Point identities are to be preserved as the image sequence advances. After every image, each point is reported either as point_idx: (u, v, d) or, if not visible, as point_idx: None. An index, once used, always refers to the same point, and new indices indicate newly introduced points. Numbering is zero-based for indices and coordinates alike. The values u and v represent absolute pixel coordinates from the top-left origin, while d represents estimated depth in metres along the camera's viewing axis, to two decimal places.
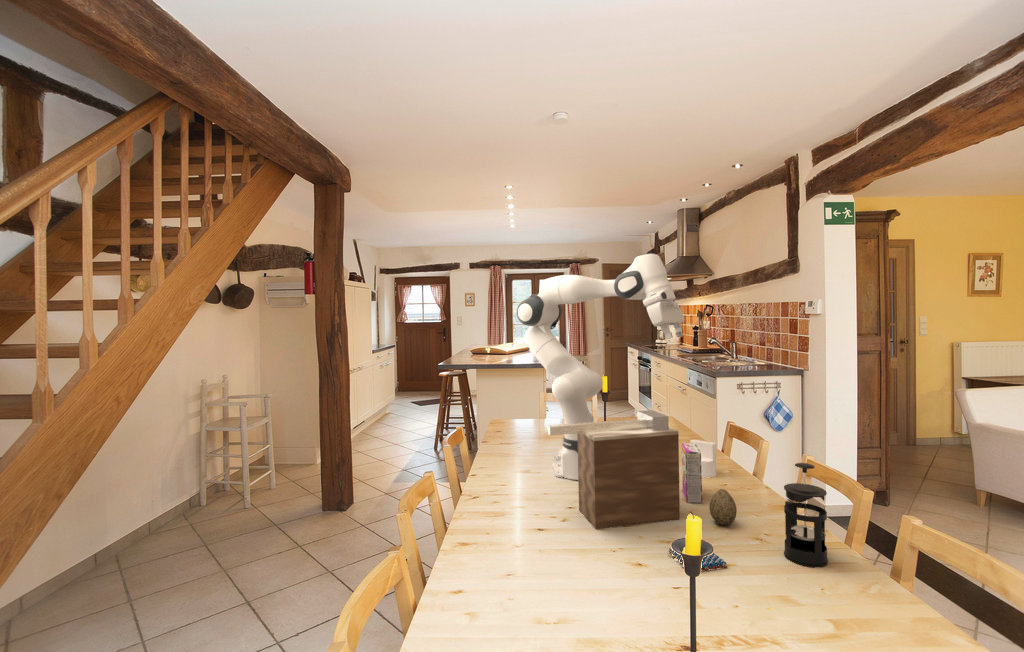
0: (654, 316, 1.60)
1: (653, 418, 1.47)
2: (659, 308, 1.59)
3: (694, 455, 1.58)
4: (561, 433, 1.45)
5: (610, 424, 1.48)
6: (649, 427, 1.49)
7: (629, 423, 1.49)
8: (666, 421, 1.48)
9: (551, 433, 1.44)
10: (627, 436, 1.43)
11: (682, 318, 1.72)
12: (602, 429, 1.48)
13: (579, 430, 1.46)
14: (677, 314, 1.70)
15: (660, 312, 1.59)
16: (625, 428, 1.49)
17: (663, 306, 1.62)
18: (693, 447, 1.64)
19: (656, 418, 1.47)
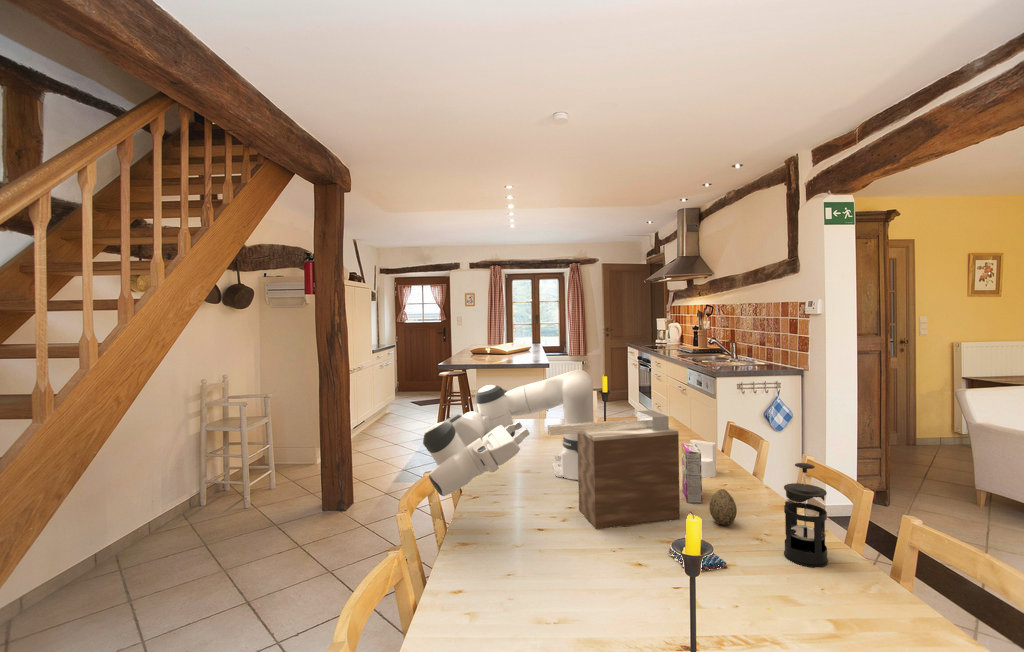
0: (508, 453, 1.33)
1: (653, 418, 1.47)
2: (498, 449, 1.33)
3: (694, 455, 1.58)
4: (561, 433, 1.45)
5: (610, 424, 1.48)
6: (649, 427, 1.49)
7: (629, 423, 1.49)
8: (666, 421, 1.48)
9: (551, 433, 1.44)
10: (627, 436, 1.43)
11: (498, 427, 1.50)
12: (602, 429, 1.48)
13: (579, 430, 1.46)
14: (496, 432, 1.47)
15: (502, 446, 1.33)
16: (625, 428, 1.49)
17: (493, 446, 1.37)
18: (693, 447, 1.64)
19: (656, 418, 1.47)
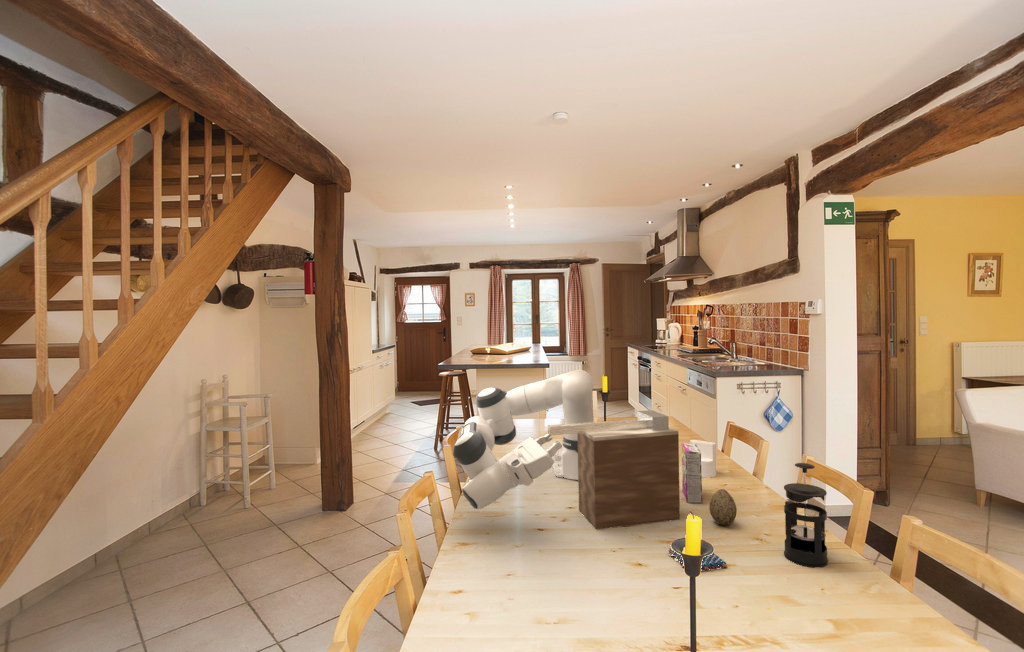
0: (543, 466, 1.34)
1: (653, 418, 1.47)
2: (533, 462, 1.34)
3: (694, 455, 1.58)
4: (561, 433, 1.45)
5: (610, 424, 1.48)
6: (649, 427, 1.49)
7: (629, 423, 1.49)
8: (666, 421, 1.48)
9: (551, 433, 1.44)
10: (627, 436, 1.43)
11: (528, 439, 1.52)
12: (602, 429, 1.48)
13: (579, 430, 1.46)
14: (526, 445, 1.49)
15: (537, 460, 1.34)
16: (625, 428, 1.49)
17: (527, 460, 1.38)
18: (693, 447, 1.64)
19: (656, 418, 1.47)
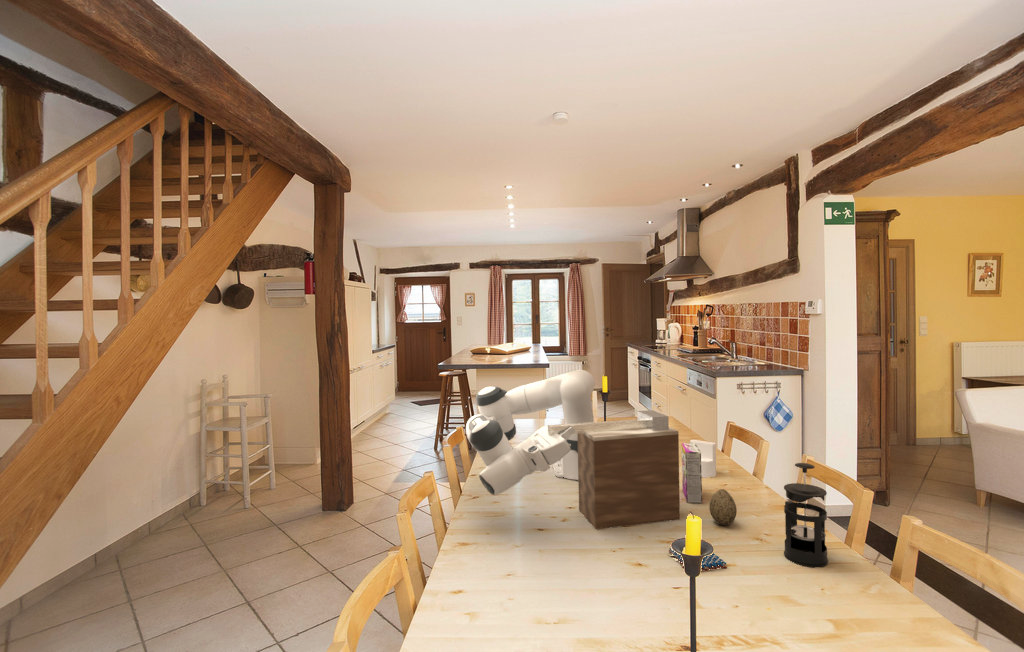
0: (560, 452, 1.36)
1: (653, 418, 1.47)
2: (550, 448, 1.36)
3: (694, 455, 1.58)
4: None
5: (610, 424, 1.48)
6: (649, 427, 1.49)
7: (629, 423, 1.49)
8: (666, 421, 1.48)
9: (551, 433, 1.44)
10: (627, 436, 1.43)
11: (544, 427, 1.53)
12: (602, 429, 1.48)
13: (579, 430, 1.46)
14: (542, 432, 1.50)
15: (554, 446, 1.36)
16: (625, 428, 1.49)
17: (544, 446, 1.40)
18: (693, 447, 1.64)
19: (656, 418, 1.47)
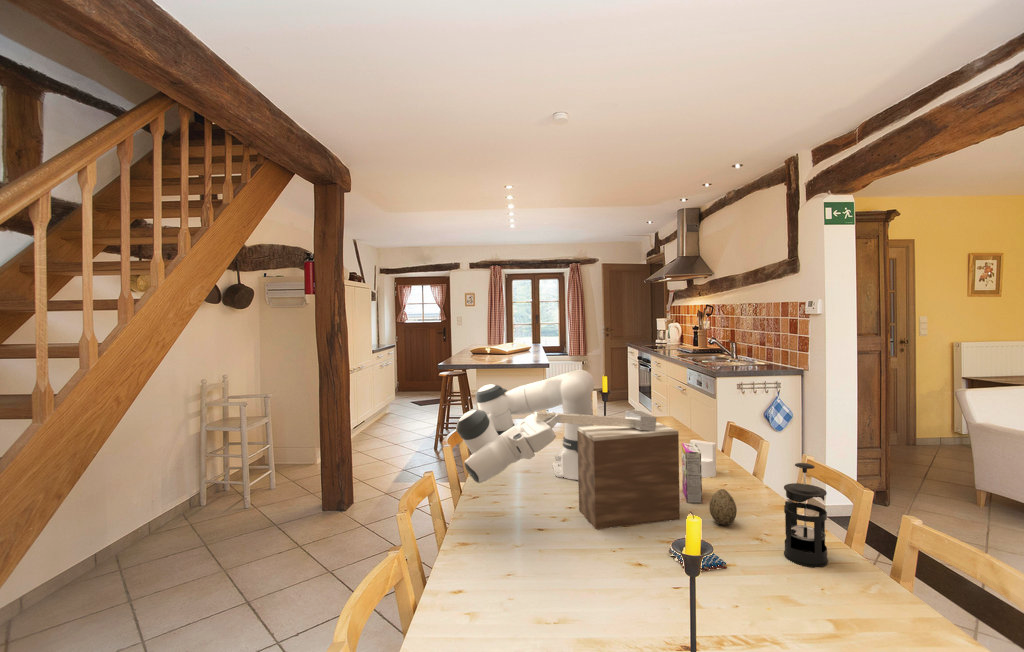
0: (545, 440, 1.35)
1: (641, 417, 1.46)
2: (535, 436, 1.35)
3: (694, 455, 1.58)
4: None
5: (597, 418, 1.47)
6: (636, 426, 1.48)
7: (616, 420, 1.48)
8: (654, 422, 1.47)
9: (537, 419, 1.43)
10: (627, 436, 1.43)
11: (531, 415, 1.52)
12: (589, 422, 1.47)
13: (566, 420, 1.45)
14: (529, 420, 1.49)
15: (539, 433, 1.35)
16: (612, 424, 1.48)
17: (529, 434, 1.39)
18: (693, 447, 1.64)
19: (644, 417, 1.46)
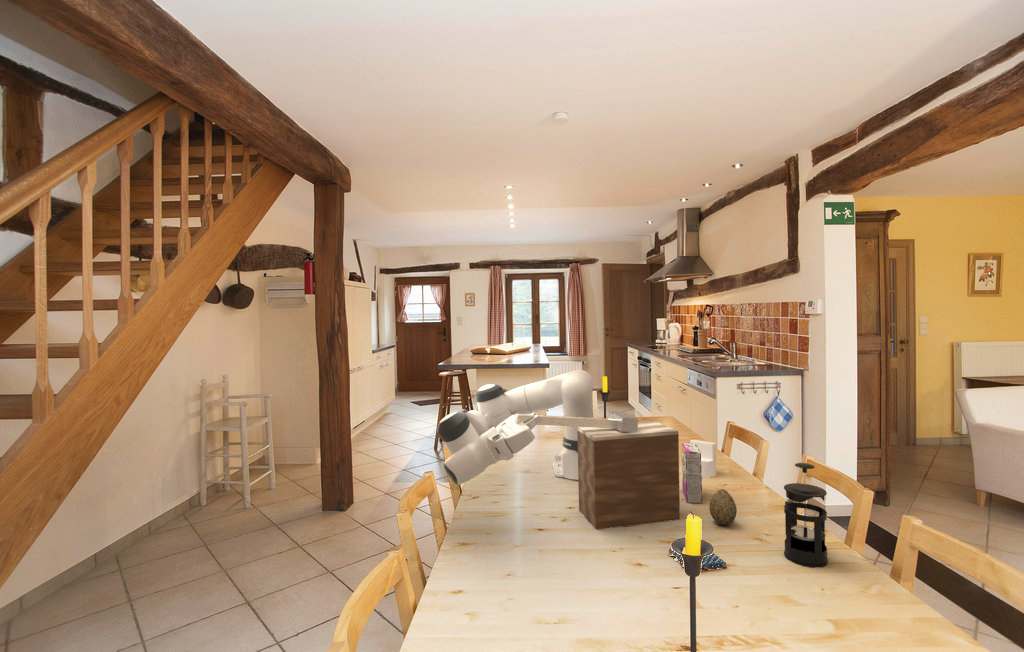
0: (524, 441, 1.34)
1: (622, 418, 1.45)
2: (513, 437, 1.34)
3: (694, 455, 1.58)
4: None
5: (578, 419, 1.46)
6: (618, 427, 1.47)
7: (598, 421, 1.47)
8: (635, 423, 1.46)
9: (518, 421, 1.42)
10: (627, 436, 1.43)
11: (512, 416, 1.51)
12: (570, 424, 1.46)
13: (547, 422, 1.44)
14: (509, 421, 1.48)
15: (518, 434, 1.34)
16: (593, 426, 1.47)
17: (508, 435, 1.38)
18: (693, 447, 1.64)
19: (625, 419, 1.45)
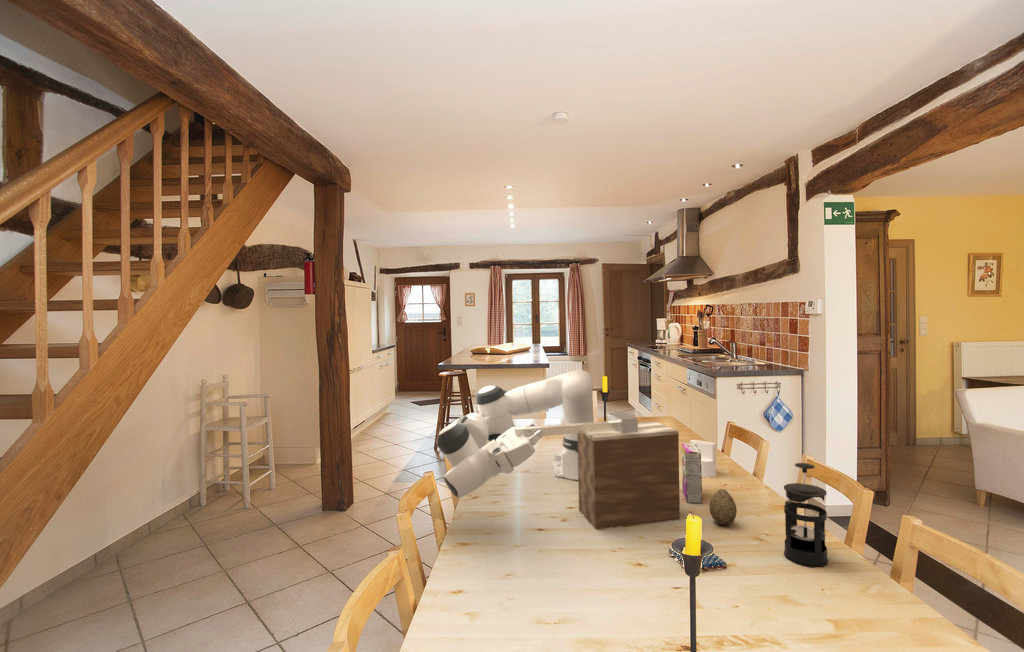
0: (524, 454, 1.34)
1: (622, 420, 1.45)
2: (513, 450, 1.34)
3: (694, 455, 1.58)
4: (528, 435, 1.43)
5: (578, 426, 1.46)
6: (618, 429, 1.47)
7: (598, 425, 1.47)
8: (635, 423, 1.46)
9: (518, 435, 1.42)
10: (627, 436, 1.43)
11: (512, 428, 1.51)
12: (570, 431, 1.46)
13: (547, 433, 1.44)
14: (509, 434, 1.48)
15: (518, 448, 1.34)
16: (594, 430, 1.47)
17: (508, 448, 1.38)
18: (693, 447, 1.64)
19: (625, 420, 1.45)
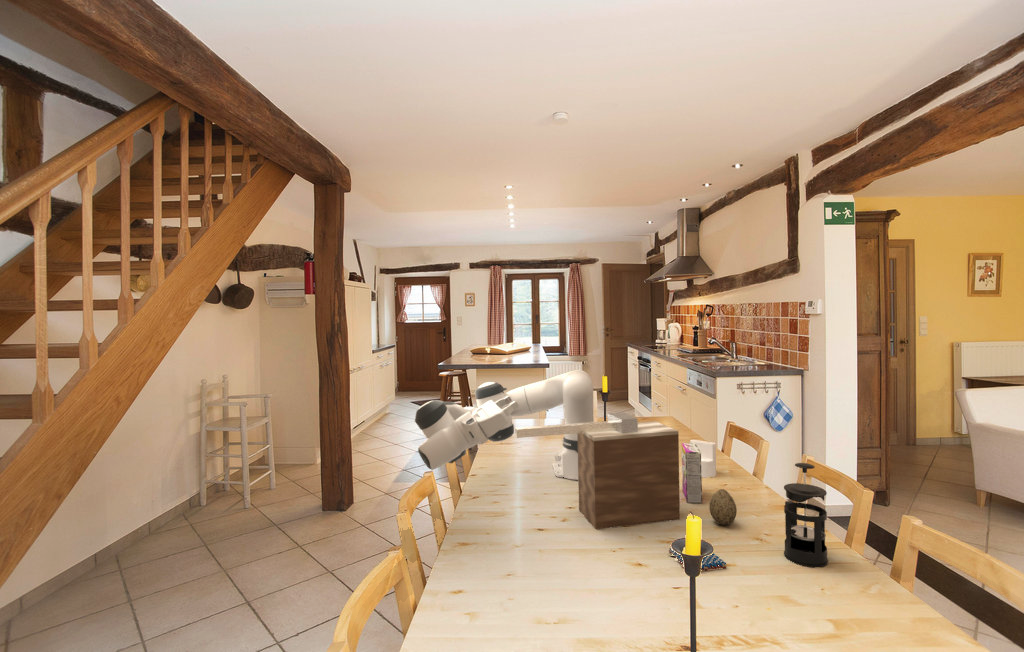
0: (497, 424, 1.32)
1: (622, 420, 1.45)
2: (487, 420, 1.32)
3: (694, 455, 1.58)
4: (528, 435, 1.43)
5: (578, 426, 1.46)
6: (618, 429, 1.47)
7: (598, 425, 1.47)
8: (635, 423, 1.46)
9: (518, 435, 1.42)
10: (627, 436, 1.43)
11: (488, 402, 1.50)
12: (570, 431, 1.46)
13: (547, 433, 1.44)
14: (485, 406, 1.47)
15: (491, 418, 1.32)
16: (594, 430, 1.47)
17: (482, 419, 1.36)
18: (693, 447, 1.64)
19: (625, 420, 1.45)
